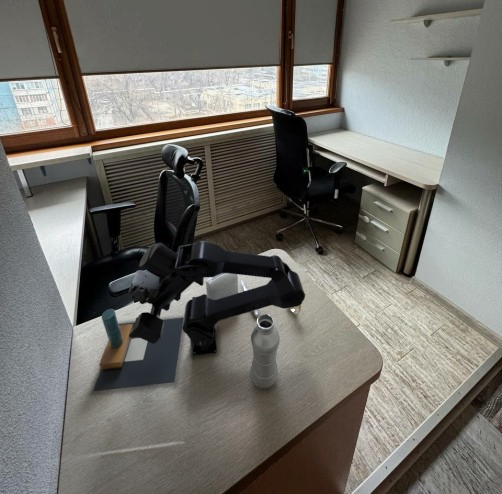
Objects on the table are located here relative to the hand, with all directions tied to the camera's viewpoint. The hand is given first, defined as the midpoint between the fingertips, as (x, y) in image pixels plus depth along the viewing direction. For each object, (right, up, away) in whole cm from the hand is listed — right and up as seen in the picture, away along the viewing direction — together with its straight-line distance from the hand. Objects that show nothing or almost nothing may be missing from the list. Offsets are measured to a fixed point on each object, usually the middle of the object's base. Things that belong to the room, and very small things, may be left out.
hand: (135, 318), depth 68 cm
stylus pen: (+27, -5, +15) cm, 31 cm away
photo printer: (+21, -6, +18) cm, 28 cm away
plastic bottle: (+33, -14, -2) cm, 35 cm away
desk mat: (0, -11, +4) cm, 12 cm away
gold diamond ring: (+42, -6, +15) cm, 45 cm away
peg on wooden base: (-6, -11, +4) cm, 13 cm away
